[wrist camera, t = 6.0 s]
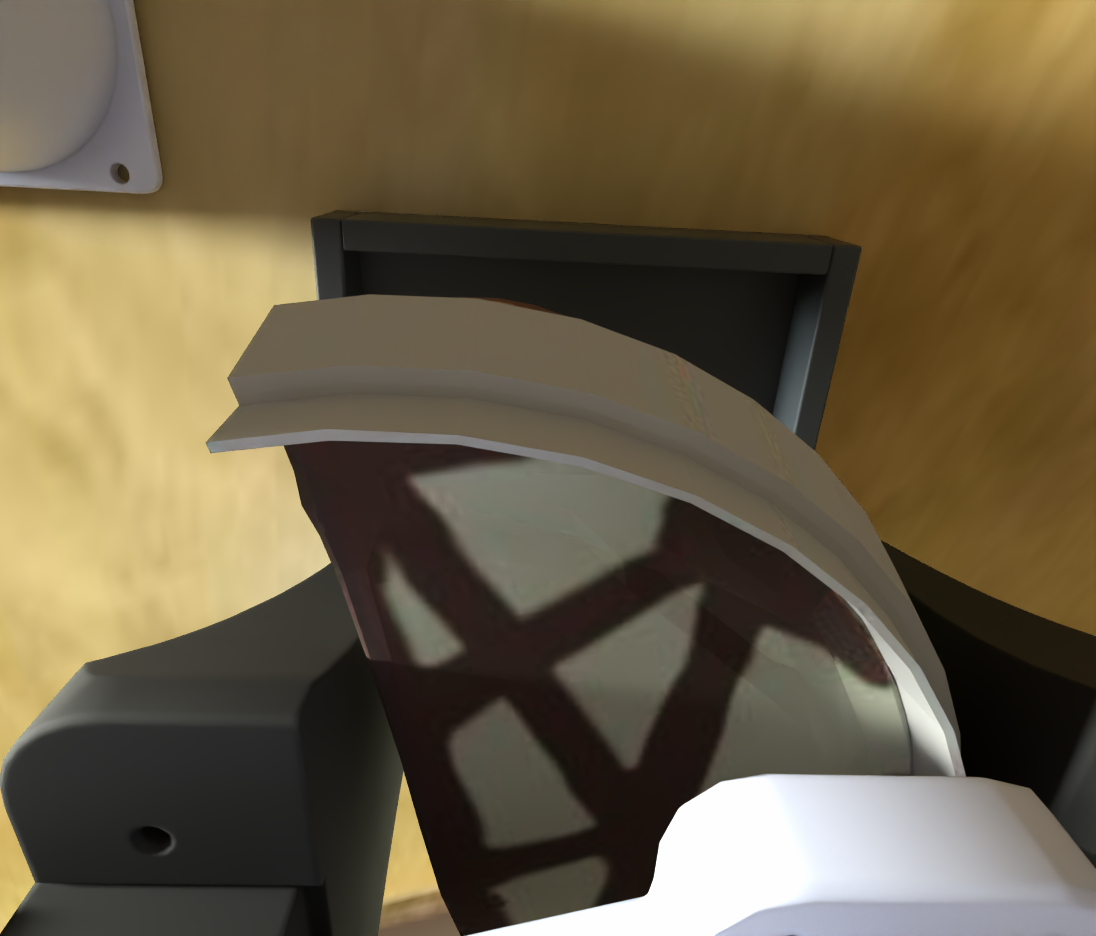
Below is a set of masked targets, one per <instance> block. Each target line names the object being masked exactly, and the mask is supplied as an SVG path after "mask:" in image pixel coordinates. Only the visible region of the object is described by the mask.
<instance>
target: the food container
mask: <svg viewBox="0 0 1096 936" xmlns="http://www.w3.org/2000/svg"><path fill="white" fill-rule="evenodd" d="M228 381H229V383H230V385H231V388H232V390H233V392H234V395H235V397H236V399H237V401H238V404H239V407H238V408H237V409H236V410H235V411H234V412H233V413H232V414H231V415H230V416H229V418H228V419H227V420H226V421H225V422H224V423H223V424H222V425H221V426H220V427H219V429H218V430H217V431H216V432H215V433H214V434H213V435H212V436H211V437H210V438H209V440H208V441H207V442H206V444H207V446H208V449H209V451H210V453H217V452H226V451H235V450H245V449H254V448H264V447H273V446H283V445H284V448H285V450H286V453H287V455H288V458H289V460H290V463H291V465H292V467H293V470H294V473H295V477H296V482H297V486H298V491H299V495H300V500H301V504H302V507H303V508H304V510H305V512H306V513H307V515H308V517H309V518H310V520H311V522H312V523H313V525H314V527H315V528H316V530H317V532H318V533H319V535H320V537H321V540H322V542H323V544H324V547H325V549H326V551H327V554H328V556H329V558H330V561H331V563H332V565H333V568H334V570H335V572H336V575H337V577H338V579H339V582H340V585H341V587H342V590H343V593H344V596H345V599H346V601H347V604H348V607H349V610H350V613H351V615H352V618H353V621H354V624H355V627H356V630H357V632H358V635H359V638H360V641H361V644H362V646H363V649H364V652H365V655H366V658H367V660H368V663H369V666H370V669H371V672H372V674H373V677H374V680H375V683H376V687H377V690H378V693H379V696H380V699H381V702H382V705H383V708H384V711H385V714H386V717H387V720H388V723H389V726H390V729H391V732H392V736H393V739H394V742H395V745H396V748H397V751H398V754H399V757H400V760H401V763H402V766H403V770H404V773H405V777H406V780H407V784H408V787H409V791H410V794H411V798H412V801H413V805H414V808H415V812H416V815H417V819H418V822H419V826H420V829H421V832H422V835H423V839H424V842H425V845H426V848H427V852H428V855H429V858H430V861H431V864H432V868H433V871H434V874H435V877H436V881H437V884H438V887H439V890H440V893H441V896H442V898H443V900H444V902H445V904H446V906H447V908H448V910H449V913H450V914H451V917H452V919H453V921H454V923H455V925H456V927H457V929H458V931H459V933H460V935H461V936H466V935H471V934H475V933H480V932H484V931H489V930H493V929H498V928H502V927H507V926H512V925H516V924H521V923H525V922H530V921H534V920H539V919H543V918H548V917H552V916H557V915H561V914H566V913H570V912H575V911H580V910H584V909H589V908H593V907H598V906H602V905H607V904H611V903H616V902H620V901H625V900H629V899H634V898H638V897H643V896H645V895H647V894H648V893H649V890H650V887H651V885H652V882H653V879H654V875H655V869H656V863H657V857H658V851H659V845H660V841H661V839H662V838H663V836H664V834H665V832H666V830H667V829H668V827H669V825H670V823H671V821H672V820H673V818H674V816H675V814H676V813H677V811H678V809H679V808H680V807H681V806H683V805H684V804H685V803H687V802H688V801H690V800H692V799H693V798H695V797H696V796H698V795H700V794H701V793H703V792H705V791H706V790H708V789H709V788H711V787H713V786H714V785H716V784H718V783H719V782H721V781H727V780H733V779H739V778H744V777H750V776H756V775H762V774H818V775H882V776H945V777H966V775H965V771H964V767H963V763H962V759H961V743H960V731H959V727H958V723H957V719H956V715H955V711H954V707H953V702H952V698H951V694H950V690H949V686H948V682H947V678H946V674H945V670H944V668H943V666H942V664H941V662H940V660H939V658H938V656H937V654H936V652H935V649H934V647H933V645H932V643H931V641H930V639H929V637H928V635H927V633H926V631H925V629H924V627H923V625H922V623H921V620H920V618H919V616H918V614H917V612H916V610H915V608H914V606H913V604H912V602H911V600H910V598H909V596H908V594H907V591H906V589H905V587H904V585H903V583H902V581H901V579H900V577H899V575H898V573H897V571H896V569H895V567H894V565H893V563H892V561H891V559H890V558H889V556H888V554H887V552H886V550H885V548H884V546H883V544H882V542H881V540H880V538H879V536H878V534H877V532H876V530H875V529H874V527H873V525H872V523H871V521H870V519H869V517H868V515H867V513H866V512H865V511H864V510H863V508H862V507H861V506H860V505H859V503H858V502H857V501H856V500H855V499H854V497H853V496H852V495H851V494H850V492H849V491H848V490H847V489H846V487H845V486H844V485H843V484H842V482H841V481H840V480H839V479H838V477H837V476H836V475H835V474H834V473H833V471H832V470H831V469H830V468H829V466H828V465H827V464H826V463H825V461H824V460H823V459H822V458H821V456H820V455H819V454H818V453H817V452H815V451H814V450H813V449H812V448H811V447H809V446H808V445H807V444H806V443H805V442H804V441H802V440H801V439H800V438H799V437H798V436H796V435H795V434H794V433H793V432H792V431H790V430H789V429H788V428H787V427H786V426H785V425H783V424H782V423H781V422H780V421H779V420H777V419H776V418H775V417H774V416H773V415H771V414H770V413H769V412H768V411H767V410H766V409H764V408H763V407H762V406H761V405H760V404H758V403H757V402H756V401H755V400H753V399H752V398H750V397H748V396H746V395H745V394H743V393H741V392H739V391H738V390H736V389H734V388H733V387H731V386H729V385H727V384H726V383H724V382H722V381H720V380H719V379H717V378H715V377H713V376H712V375H710V374H708V373H707V372H705V371H703V370H701V369H700V368H698V367H696V366H694V365H693V364H691V363H689V362H687V361H686V360H684V359H682V358H680V357H679V356H677V355H675V354H673V353H670V352H668V351H665V350H662V349H660V348H657V347H654V346H652V345H649V344H646V343H644V342H641V341H638V340H635V339H633V338H630V337H627V336H625V335H622V334H619V333H617V332H614V331H611V330H609V329H606V328H603V327H600V326H598V325H595V324H592V323H590V322H587V321H584V320H582V319H577V318H572V317H567V316H564V315H561V314H558V313H556V312H553V311H550V310H547V309H544V308H542V307H539V306H536V305H532V304H526V303H521V302H516V301H511V300H505V299H500V298H478V297H457V298H447V297H423V296H398V295H373V294H369V295H360V296H351V297H342V298H334V299H325V300H316V301H307V302H298V303H290V304H281V305H274V306H273V308H272V309H271V311H270V312H269V314H268V316H267V317H266V319H265V320H264V322H263V323H262V325H261V326H260V328H259V330H258V331H257V333H256V334H255V336H254V337H253V339H252V341H251V342H250V344H249V345H248V347H247V348H246V350H245V351H244V353H243V355H242V356H241V358H240V359H239V361H238V362H237V364H236V365H235V367H234V369H233V370H232V372H231V373H230V375H229V376H228Z"/></svg>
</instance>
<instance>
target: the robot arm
mask: <svg viewBox="0 0 1096 936" xmlns="http://www.w3.org/2000/svg"><path fill="white" fill-rule="evenodd" d="M120 164H123V165H124V166H125V167H126V168H127V169H128V172H129V174H130V176H129V180H128V182H127V183H126V182H124V181H123V180H122V179H121V178H120V177H119V175H118V167H119V165H120ZM162 183H163V174H162V168H161V162H160V156H159V150H158V144H157V138H156V132H155V126H154V121H153V115H152V109H151V103H150V97H149V91H148V85H147V79H146V73H145V67H144V61H143V55H142V49H141V44H140V38H139V32H138V26H137V20H136V14H135V8H134V2H133V0H0V186H3V187H22V188H41V189H60V190H79V191H98V192H117V193H136V194H146V193H153V192H156V191H157V190H158V189H160V187H161V185H162ZM881 542H882V544H883V546H884V548H885V550H886V552H887V554H888V556H889V558H890V559H891V561H892V563H893V565H894V567H895V569H896V571H897V573H898V575H899V577H900V579H901V581H902V583H903V585H904V587H905V589H906V591H907V594H908V596H909V598H910V600H911V602H912V604H913V606H914V608H915V610H916V612H917V614H918V616H919V618H920V620H921V623H922V625H923V627H924V629H925V631H926V633H927V635H928V637H929V639H930V641H931V643H932V645H933V647H934V649H935V652H936V654H937V656H938V658H939V660H940V662H941V664H942V666H943V668H944V670H945V674H946V678H947V682H948V686H949V690H950V694H951V698H952V702H953V707H954V711H955V715H956V719H957V723H958V727H959V731H960V743H961V759H962V763H963V767H964V771H965V775H966V777H945V776H882V775H818V774H762V775H756V776H750V777H744V778H739V779H733V780H727V781H721V782H719V783H718V784H716V785H714V786H713V787H711V788H709V789H708V790H706V791H705V792H703V793H701V794H700V795H698V796H696V797H695V798H693V799H692V800H690V801H688V802H687V803H685V804H684V805H683V806H681V807H680V808H679V809H678V811H677V813H676V814H675V816H674V818H673V820H672V821H671V823H670V825H669V827H668V829H667V830H666V832H665V834H664V836H663V838H662V839H661V841H660V845H659V851H658V857H657V863H656V869H655V875H654V879H653V882H652V885H651V887H650V890H649V893H648V894H647V895H645V896H643V897H638V898H634V899H629V900H625V901H620V902H616V903H611V904H607V905H602V906H598V907H593V908H589V909H584V910H580V911H575V912H570V913H566V914H561V915H557V916H552V917H548V918H543V919H539V920H534V921H530V922H525V923H521V924H516V925H512V926H507V927H502V928H498V929H493V930H489V931H484V932H480V933H475V934H471V935H466V936H1096V636H1093V635H1091V634H1088V633H1085V632H1082V631H1079V630H1076V629H1073V628H1070V627H1067V626H1064V625H1061V624H1058V623H1056V622H1053V621H1050V620H1048V619H1045V618H1042V617H1040V616H1037V615H1034V614H1032V613H1029V612H1027V611H1025V610H1022V609H1020V608H1017V607H1015V606H1013V605H1010V604H1008V603H1005V602H1003V601H1001V600H998V599H996V598H993V597H991V596H989V595H987V594H985V593H982V592H980V591H978V590H976V589H974V588H971V587H969V586H967V585H965V584H963V583H961V582H959V581H957V580H955V579H953V578H951V577H949V576H947V575H945V574H943V573H941V572H939V571H937V570H935V569H933V568H931V567H929V566H928V565H926V564H924V563H922V562H920V561H918V560H916V559H914V558H913V557H911V556H909V555H907V554H905V553H903V552H902V551H900V550H898V549H896V548H894V547H893V546H891V545H889V544H887V543H885V542H883V541H882V540H881ZM402 775H403V766H402V763H401V760H400V757H399V754H398V751H397V748H396V745H395V742H394V739H393V736H392V732H391V729H390V726H389V723H388V720H387V717H386V714H385V711H384V708H383V705H382V702H381V699H380V696H379V693H378V690H377V687H376V683H375V680H374V677H373V674H372V672H371V669H370V666H369V663H368V660H367V658H366V655H365V652H364V649H363V646H362V644H361V641H360V638H359V635H358V632H357V630H356V627H355V624H354V621H353V618H352V615H351V613H350V610H349V607H348V604H347V601H346V599H345V596H344V593H343V590H342V587H341V585H340V582H339V579H338V577H337V575H336V572H335V570H334V568H333V565H332V563H330V564H329V565H327V566H326V567H325V568H323V569H322V570H320V571H318V572H317V573H315V574H314V575H312V576H311V577H309V578H307V579H306V580H304V581H302V582H301V583H299V584H297V585H295V586H294V587H292V588H290V589H288V590H287V591H285V592H283V593H281V594H279V595H277V596H275V597H273V598H271V599H269V600H267V601H265V602H263V603H261V604H258V605H256V606H254V607H252V608H250V609H248V610H246V611H243V612H241V613H239V614H237V615H235V616H233V617H230V618H228V619H226V620H223V621H221V622H218V623H215V624H213V625H210V626H208V627H205V628H203V629H200V630H197V631H194V632H191V633H188V634H186V635H183V636H180V637H177V638H174V639H171V640H168V641H165V642H161V643H158V644H155V645H151V646H148V647H144V648H140V649H137V650H133V651H129V652H126V653H122V654H119V655H115V656H111V657H108V658H104V659H100V660H96V661H92V662H87V663H85V664H84V665H83V666H82V667H81V669H80V670H79V671H78V672H77V673H76V674H75V675H74V676H73V677H72V678H71V679H70V681H69V682H68V683H67V684H66V685H65V686H64V687H63V688H62V689H61V691H60V692H59V693H58V694H57V695H56V696H55V697H54V699H53V700H52V701H51V702H50V703H49V704H48V705H47V707H46V708H45V709H44V710H43V711H42V712H41V713H40V714H39V716H38V717H37V718H36V719H35V720H34V721H33V722H32V724H31V725H30V726H29V727H28V728H27V729H26V730H25V732H24V733H23V734H22V735H21V736H20V737H19V738H18V740H17V741H16V742H15V744H14V745H13V746H12V748H11V749H10V751H9V752H8V754H7V755H6V756H5V758H4V759H3V764H2V769H1V774H0V789H1V794H2V798H3V803H4V806H5V809H6V812H7V814H8V817H9V819H10V821H11V824H12V826H13V829H14V831H15V834H16V836H17V839H18V841H19V844H20V846H21V848H22V851H23V853H24V856H25V858H26V861H27V863H28V866H29V868H30V871H31V873H32V876H33V878H34V880H35V884H34V885H33V887H32V888H31V890H30V891H29V893H28V894H27V896H26V897H25V898H24V900H23V901H22V903H21V904H20V906H19V907H18V909H17V910H16V912H15V913H14V915H13V916H12V918H11V919H10V920H9V922H8V923H7V925H6V926H5V928H4V929H3V931H2V932H1V934H0V936H378V930H379V924H380V917H381V910H382V903H383V896H384V889H385V882H386V875H387V869H388V862H389V856H390V849H391V843H392V837H393V830H394V824H395V817H396V811H397V805H398V799H399V793H400V787H401V781H402Z"/></svg>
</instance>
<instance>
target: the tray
mask: <svg viewBox="0 0 1096 936" xmlns="http://www.w3.org/2000/svg"><path fill="white" fill-rule="evenodd" d="M311 231H312V243H313V254H314V265H315V277H316V288H317V299H318V300H325V299H334V298H342V297H351V296H360V295H369V294H373V295H398V296H423V297H447V298H457V297H478V298H500V299H505V300H511V301H516V302H521V303H526V304H532V305H536V306H539V307H542V308H544V309H547V310H550V311H553V312H556V313H558V314H561V315H564V316H567V317H572V318H577V319H582V320H584V321H587V322H590V323H592V324H595V325H598V326H600V327H603V328H606V329H609V330H611V331H614V332H617V333H619V334H622V335H625V336H627V337H630V338H633V339H635V340H638V341H641V342H644V343H646V344H649V345H652V346H654V347H657V348H660V349H662V350H665V351H668V352H670V353H673V354H675V355H677V356H679V357H680V358H682V359H684V360H686V361H687V362H689V363H691V364H693V365H694V366H696V367H698V368H700V369H701V370H703V371H705V372H707V373H708V374H710V375H712V376H713V377H715V378H717V379H719V380H720V381H722V382H724V383H726V384H727V385H729V386H731V387H733V388H734V389H736V390H738V391H739V392H741V393H743V394H745V395H746V396H748V397H750V398H752V399H753V400H755V401H756V402H757V403H758V404H760V405H761V406H762V407H763V408H764V409H766V410H767V411H768V412H769V413H770V414H771V415H773V416H774V417H775V418H776V419H777V420H779V421H780V422H781V423H782V424H783V425H785V426H786V427H787V428H788V429H789V430H790V431H792V432H793V433H794V434H795V435H796V436H798V437H799V438H800V439H801V440H802V441H804V442H805V443H806V444H807V445H808V446H809V447H811V448H812V449H813V450H814V451H815V447H816V443H817V438H818V434H819V430H820V425H821V421H822V417H823V413H824V408H825V404H826V400H827V395H828V391H829V387H830V383H831V378H832V374H833V370H834V365H835V361H836V357H837V352H838V348H839V344H840V340H841V335H842V331H843V327H844V322H845V318H846V314H847V309H848V305H849V301H850V297H851V292H852V288H853V284H854V279H855V275H856V271H857V267H858V262H859V258H860V254H861V247H860V246H858V245H855V244H851V243H848V242H844V241H840V240H837V239H833V238H830V237H827V236H819V235H800V234H781V233H762V232H743V231H724V230H705V229H686V228H667V227H648V226H629V225H610V224H591V223H572V222H553V221H533V220H514V219H495V218H476V217H457V216H438V215H419V214H400V213H381V212H362V211H343V210H336V211H333V212H330V213H327V214H323V215H320V216H316V217H313V218H311Z"/></svg>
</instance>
